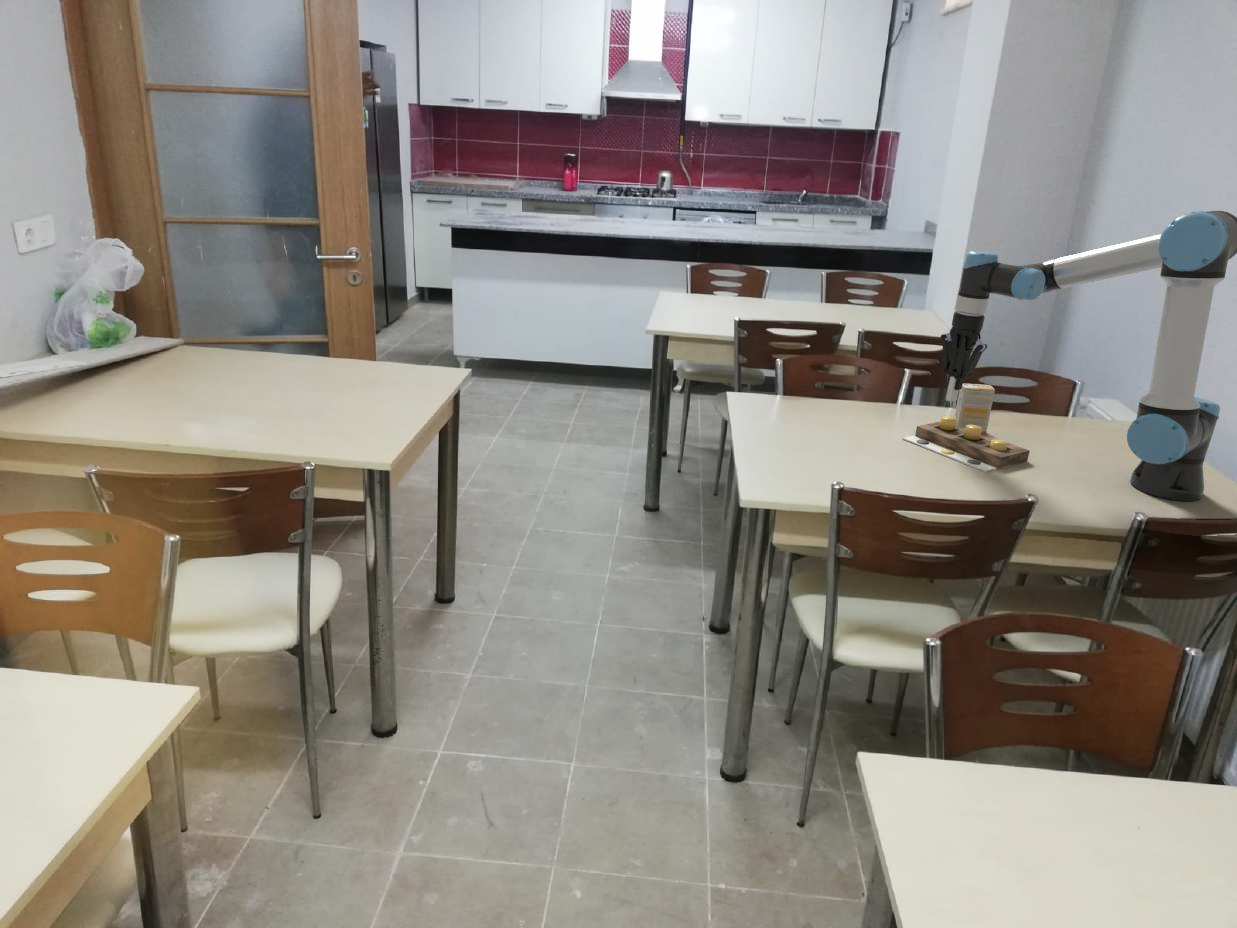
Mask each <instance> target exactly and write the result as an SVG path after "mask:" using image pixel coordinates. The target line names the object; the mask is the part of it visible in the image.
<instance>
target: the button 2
mask: <svg viewBox="0 0 1237 928" xmlns="http://www.w3.org/2000/svg"><path fill="white" fill-rule="evenodd" d="M997 439H998V438H996V439H994V440H991V444H990V448H991V449H993V450H996V451H999V452H1004V451H1006V450H1007V445H1008V443H1009V442H1008V441H1005V440H1002V439H999V440H997Z"/></svg>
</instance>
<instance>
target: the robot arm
mask: <svg viewBox="0 0 1237 928" xmlns="http://www.w3.org/2000/svg"><path fill="white" fill-rule="evenodd" d="M1236 255H1237V216H1236V215H1234V214H1232V213H1230V212H1228V211H1224V210H1210V211H1209V210H1208V211H1207V210H1206V211H1203V210H1199V211H1191V212H1188V213H1185V214H1182V215H1180V216H1178V217H1177V218H1175V219H1173V220H1172V221H1171V222H1170V223H1168V225H1167V226H1166V227H1165V228H1164V229H1163V230H1162V232H1161V233H1159V234H1158V233H1157V234H1155V235H1150V236H1146V237H1142V238H1137V239H1133V240H1130V241H1126V242H1122V243H1117V244H1113V245H1108V246H1103V247H1101V248H1097V249H1092V250H1088V251H1085V252H1083V251H1082V252H1080V253H1076V254H1073V255H1072V254H1071V255H1068V256H1067V255H1066V256H1062V257H1059V258H1057V259H1051V260H1050V259H1049V260H1046V261H1041V262H1038V263H1032V264H1031V263H1030V264H1024V265H1016V264H1015V265H1012V264H1006V263H1002V262H998V261H999V255H998V254H997V253H996V252H991V251H985V250H970V251H969V252H967V254H966V256H965V260H964V265H963V267H962V273H961V278H960V283H959V290H958V293H957V296H956V302H955V304H954V305H955V306H954V310H955V312H953V316H952V319H951V320H952V321H951V326H952V327H951V329H950V330H949V332H947V333H943V334H941V335H940V339H941V342H942V372H945V373H946V374H947V381H946V385H945V386H946V387H947V391H946V396H945V401H947V402H955V401H958V396H959V390H961V388H962V384H963V383H964V380H965V379H966V378H971V377H972V376H973V373H974V372H975V369H976V367H977V365H978V363H979V361H980V359H981V357H982V355H983V352H985V350H986V349H988V344H986V343H983V342H982V340H981V331H982V329H983V328H984V327H983V326H984V323H985V314H986V312H987V307H988V303H989V299H990V294H993V295H994V294H995V295H1000V296H1005V297H1008V298H1015V299H1017V300H1020V301H1022V300H1025V301H1035V300H1036V299H1038V297H1039V296H1041V294H1046V293H1049V292H1053V291H1057V290H1061V289H1065V288H1069V287H1070V288H1071V287H1076V286H1079V285H1080V286H1081V285H1084V284H1088V283H1093V282H1098V281H1103V280H1108V279H1109V280H1110V279H1113V278H1117V277H1123V276H1126V275H1131V274H1132V275H1133V274H1138V273H1141V272H1146V271H1150V270H1156V269H1160V268H1161V270H1160V276H1159V277H1160V278H1161V279H1162V281H1163V282H1164V283H1165V284H1166V289H1165V295H1164V300H1163V301H1164V302H1163V306H1162V312H1161V318H1160V324H1159V330H1158V336H1157V342H1156V347H1155V354H1154V359H1153V366H1152V371H1151V379H1150V383H1149V389H1148V393H1146V394H1145V395H1143V396H1142V397H1141V398H1140V399H1139V401H1138V407H1137V408H1138V409H1137V413H1136V418H1135V419H1134V420H1133V421H1132V422H1131V424H1130V425H1129V427H1128V429H1127V432H1126V440H1127V441H1126V442H1127V445H1128V448H1130V449H1129V450H1130V451H1131V452H1132V453H1133V454H1134V455H1135V456H1136V457H1137V458H1138V459H1140V462H1139V463H1138V465H1136V467H1135V469H1134V470H1133V471H1132V473H1131V477H1130V480H1129V483H1130V485H1131V486H1132V487H1133V488H1135V489H1137V490H1139V491H1140V492H1143V493H1147V494H1148V495H1151V496H1155V497H1158V498H1162V499H1167V500H1172V501H1178V502H1179V501H1180V502H1193V501H1194V502H1195V501H1198V500H1200V499H1202V497H1203V495H1204V491H1205V480H1204V479H1205V477H1204V468H1203V467H1204V462H1205V459H1206V456H1207V453H1208V450H1209V447H1210V443H1211V441H1212V437H1213V434H1214V431H1215V428H1216V425H1217V421H1218V420H1219V418H1220V415H1219V414H1220V411H1221V407H1220V405H1219V404H1218V403H1217V402H1214V401H1212V400H1208V399H1205V398H1201V397H1196V396H1195V393H1196V388H1197V382H1198V378H1199V377H1198V376H1199V373H1200V371H1199V370H1200V367H1201V366H1200V365H1201V360H1202V355H1203V349H1204V344H1205V339H1206V338H1205V337H1206V333H1207V328H1208V322H1209V317H1210V311H1211V306H1212V301H1213V295H1214V291H1215V287H1216V286H1217V285H1218V284H1219V283H1221V282H1222V281H1223V280H1225V277H1226V272H1227V267H1228V262H1229V261H1230V259H1232V258H1233V257H1235V256H1236ZM973 348H974V349H973Z"/></svg>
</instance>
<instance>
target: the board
mask: <svg viewBox="0 0 1237 928" xmlns="http://www.w3.org/2000/svg"><path fill="white" fill-rule="evenodd" d="M939 424H940V421H937V422H932V423H925V424H920V425H917V426H916V429H915V435H914V436H916V437H918V438H921V439H924V440H926V441H929V442H931V443H934V444H936V445H939V446H942V447H944V448H947V449H949V450H952V451H955V452H957V453H960V454H962V455H965V456H967V457H970V458H973V459H975V460H978V461H980V462H983V463H986V464H988V465H991V466H993V467H996V469H997V470H999V469H1003V468H1008V467H1011V466H1015V465H1018V464H1022V463H1027V462H1028V460H1029V457H1030V450H1029V449H1026V448H1024V447H1020V446H1019V445H1015V444H1013V443H1010V442H1007V443H1008V445H1007V450H1006V451H1004V452H999V451H996V450H993V449H991V448H990V444H991V440H994V439H997V440H1000V439H999V438H996V437H993V436H990V435H987V434H982V433H981V436H980V439H979V440H972V439H968V438H965V437H964V433H965V427H963V426H960V425H957V424H955V429H954V430H951V431H950V430H943V429H941V428H939Z"/></svg>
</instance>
